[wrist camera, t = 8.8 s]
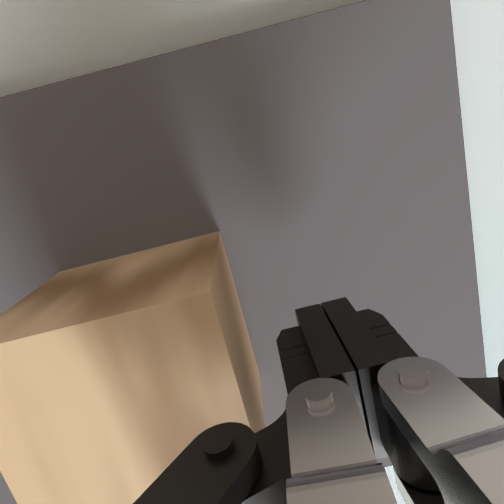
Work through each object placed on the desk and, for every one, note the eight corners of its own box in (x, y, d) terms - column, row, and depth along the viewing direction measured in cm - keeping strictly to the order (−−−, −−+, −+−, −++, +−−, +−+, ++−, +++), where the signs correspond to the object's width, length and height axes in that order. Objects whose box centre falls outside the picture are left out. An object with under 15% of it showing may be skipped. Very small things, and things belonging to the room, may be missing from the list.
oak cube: (210, 291, 8) (-64, 359, 8) (273, 506, 10) (43, 560, 10) (219, 231, 14) (57, 272, 14) (259, 373, 16) (112, 408, 16)
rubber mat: (438, -14, 13) (447, -21, 12) (484, 431, 18) (492, 441, 17) (-250, 168, 13) (-272, 169, 13) (-24, 552, 18) (-33, 565, 18)
